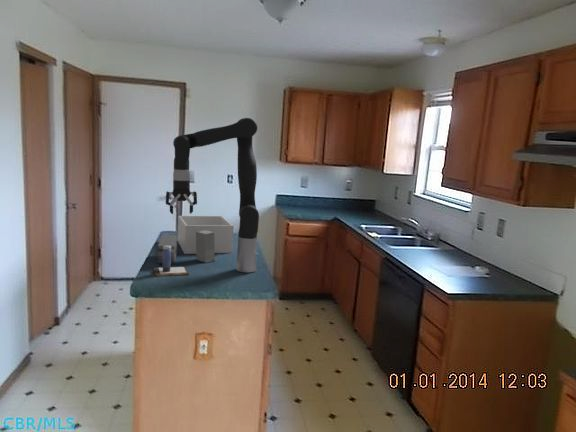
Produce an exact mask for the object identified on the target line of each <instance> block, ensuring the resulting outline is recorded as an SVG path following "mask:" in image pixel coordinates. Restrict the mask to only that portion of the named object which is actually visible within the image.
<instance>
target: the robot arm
mask: <svg viewBox="0 0 576 432" xmlns="http://www.w3.org/2000/svg"><path fill="white" fill-rule="evenodd" d="M257 131H258V124H257V122H256V121H255V120H254V119H252V118H250V117H243V118H240V119H238V121H237V122H235V123H232V124H228V125H224V126H219V127H214V128H207V129H204V130H203V129H202V130H199V131H196V132H193V133H186V134H182V135H178V136H176V137H175V138H174V139H173V143H172V145H173V148H174V158H173V159H174V160H173V175H172V176H173V177H172V179H173V180H172V185H173V186H172V191H167V190H166V192H165V204H166V206H169V213H170V214H171V215H173V214H174V205H175V203H176V202H177V201H179V202H181V201H182V202H185V201H187V202H188V204H189V214H192V213H193V212H194V206H195V205H197V204H198V195H197V194H198V192H197V191H195V190H193V191H190V190H191V189H190V187H191V185H190V182H191V181H190V180H191V177H190V176H191V174H190V154H191V153H190V152H191V149H194V148H200V147H201V148H202V147H206V146H209V145H213V144H216V143H220V142H223V141H226V140H227V141H228V140H230V139H236V143H237V180H238V181H237V182H238V190H239V209H238V210H239V211H238V217H239V227H238V233H237V234H238V237H237V255H236V268H235V269H236V271H237V272H240V273H252V272H253V273H254V272H256V271H257V261H258V259H257V257H258V253H257V240H258V232H259V222H260V214H259V211H258V209H257V206H256V198H255V195H256V193H255V192H256V186H257V179H258V178H257V177H258V175H257V174H258V173H257V171H258V170H257V162H256V161H257V160H256V158H255V154H254V153H255V152H254V149H253V148H254V147H253V136H255V135H256V134H257ZM171 195H172V196H173V198H172V200H171V201H170V197H172V196H171ZM191 195H192V197H193V198H192V199H193V201H192V200H191V199H190V196H191Z"/></svg>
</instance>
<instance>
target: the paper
mask: <svg viewBox="0 0 576 432" xmlns="http://www.w3.org/2000/svg"><path fill="white" fill-rule="evenodd" d="M184 267H185V266H173V267H172V266H171V267H170V272H163V267H158V268H159V272H160V274H170V273H186V270H185V268H184Z"/></svg>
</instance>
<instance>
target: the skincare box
mask: <svg viewBox="0 0 576 432" xmlns="http://www.w3.org/2000/svg"><path fill="white" fill-rule="evenodd" d="M195 255H196V256H195V257H196V259H195V260H196V261H198V262H199V261H200V262H202V263H209V262H210V263H212V262H215V260H216V259H215V255H216V253H215V247H214V232H210V231H206V230H204V231H198V232H196V254H195Z"/></svg>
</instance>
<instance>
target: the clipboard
mask: <svg viewBox="0 0 576 432" xmlns="http://www.w3.org/2000/svg"><path fill="white" fill-rule="evenodd" d="M183 267H184V268H185V270H186V273H170V274H160V272H159V268H160V267H154V268H153V271H154V275H155V277H171V276H173V277H174V276H175V275H178V276H189V275H190V274H189V270H188V269H187V267H186V266H183Z"/></svg>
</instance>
